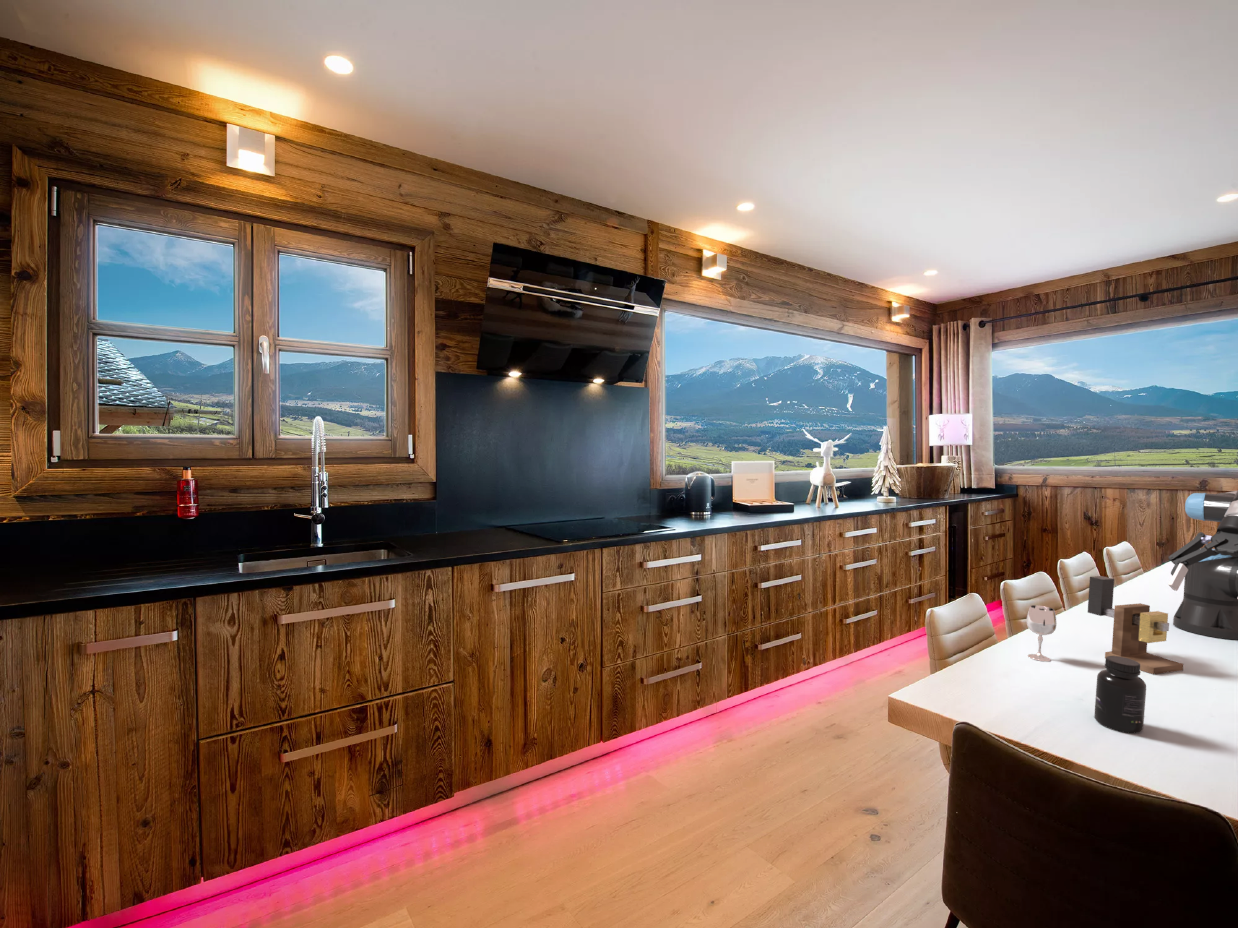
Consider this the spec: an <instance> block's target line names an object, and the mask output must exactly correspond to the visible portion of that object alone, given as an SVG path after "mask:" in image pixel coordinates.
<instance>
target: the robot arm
mask: <svg viewBox="0 0 1238 928" xmlns="http://www.w3.org/2000/svg"><path fill="white" fill-rule="evenodd" d="M1184 510H1185V511H1184V512H1185V514H1186V515H1187V517H1189V518H1190V519H1193V520H1199V521H1203V522H1206V521H1207V522H1213V523H1214V522H1215V523H1216V522H1217V523H1219V524H1218V526H1217V528H1216V533H1215V534H1213V535H1207V534H1205V533H1204V532H1202V531H1201V532H1200V531H1199V532H1198V533H1197V534H1196V535H1195V537H1194V538H1193V539H1192V540H1190V541H1189V542H1187V543H1185V545H1183V546H1182V547H1180V548H1179V549H1177V550H1176V551H1174V552H1173V553H1172V554H1170V555H1169V556H1168V559H1169V560H1170V562H1171V563H1172V564H1173V568H1172V569H1171V571H1170V575H1171V578H1170V581H1169V583H1167V584H1168V586H1169V587H1170V588H1171V590H1173V591H1176V592H1177V591H1178V590H1179V588H1180V587H1181V585H1182V583H1183V581H1184V585H1183V596H1182V597H1183V598H1182V600H1181V602H1180V603H1179V606H1178V608H1177V610H1176V612H1174V616H1173V617H1172V618H1173V619H1172V625H1173V626H1174V627H1175V628H1177V629H1181V630H1184V631H1186V632H1190V633H1194V634H1196V635H1202V636H1205V637H1211V638H1212V637H1213V638H1218V639H1225V640H1238V490H1233V491H1228V492H1227V491H1226V492H1220V493H1207V492H1194V493H1191V494H1190V495H1189V496H1187V498H1186V500H1185V503H1184Z"/></svg>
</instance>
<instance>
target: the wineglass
mask: <svg viewBox="0 0 1238 928" xmlns="http://www.w3.org/2000/svg"><path fill="white" fill-rule="evenodd" d="M1056 615H1057V614H1056V611H1055V609H1054V608H1053V607H1049V606H1044V605H1036V604H1034V605H1030V606H1029V609H1028V612H1027V615H1026V625H1027V626H1026V627H1027V628H1028V630H1030V631H1031V632H1032V633H1034V634H1037V635H1038V636H1037V641H1038V651H1037V653H1031V654H1028V655H1027V657H1028V658H1029V657H1030V659H1032V660H1034V661H1040V662H1051V661H1052V660H1051V659H1052V658H1050V657H1048V656H1045V655H1043V654H1042V645H1043V644H1042V643H1043V640H1044V638H1043V637H1044V636H1048V635H1052V634H1053V633H1054V632H1055V631H1056V629H1057V624H1058V623H1057V616H1056Z"/></svg>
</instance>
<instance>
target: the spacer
mask: <svg viewBox="0 0 1238 928" xmlns="http://www.w3.org/2000/svg"><path fill="white" fill-rule="evenodd" d="M1168 619H1169V613H1167V612H1163V611H1159V610H1156V611H1155V610H1154V611H1149V612H1143V613H1140V625H1139V640H1140V641H1143V642H1146V643H1147V644H1154V643H1160V642H1167V635H1168V634H1167V633H1168V631H1164V632H1163V631H1160V630H1156V629H1154V622H1158V621H1163V622H1167V623H1169V621H1168Z"/></svg>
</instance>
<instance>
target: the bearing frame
mask: <svg viewBox="0 0 1238 928" xmlns="http://www.w3.org/2000/svg"><path fill="white" fill-rule="evenodd" d="M1114 609H1115V610H1114V618H1113V628H1112V629H1113V630H1112V639H1111V640H1112V642H1111V643H1112V644H1111V650H1110V651H1105V653H1104V659H1106V657H1107V656H1119V657H1124V658H1128V659H1132V660H1134V661H1137V662H1138V663H1140V672H1141V671H1142V672H1144V673H1147V674H1150V675H1153V676H1154V675H1159V674H1168V673H1173V672H1183V671H1184V663H1182V662H1179V661H1175V660H1171V659H1169V658H1166V657H1162V656H1159V655H1156V654H1153V653H1149V652H1148V643H1146V642H1143V641H1140V640H1139V625H1138V624H1134V623H1132V616H1133V614H1136V615H1140V613H1143V612H1151V611H1150V609H1151V606H1150V605H1149V604H1145V603H1131V604H1130V603H1128V604H1118V605H1117V604H1116V605H1114Z"/></svg>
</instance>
